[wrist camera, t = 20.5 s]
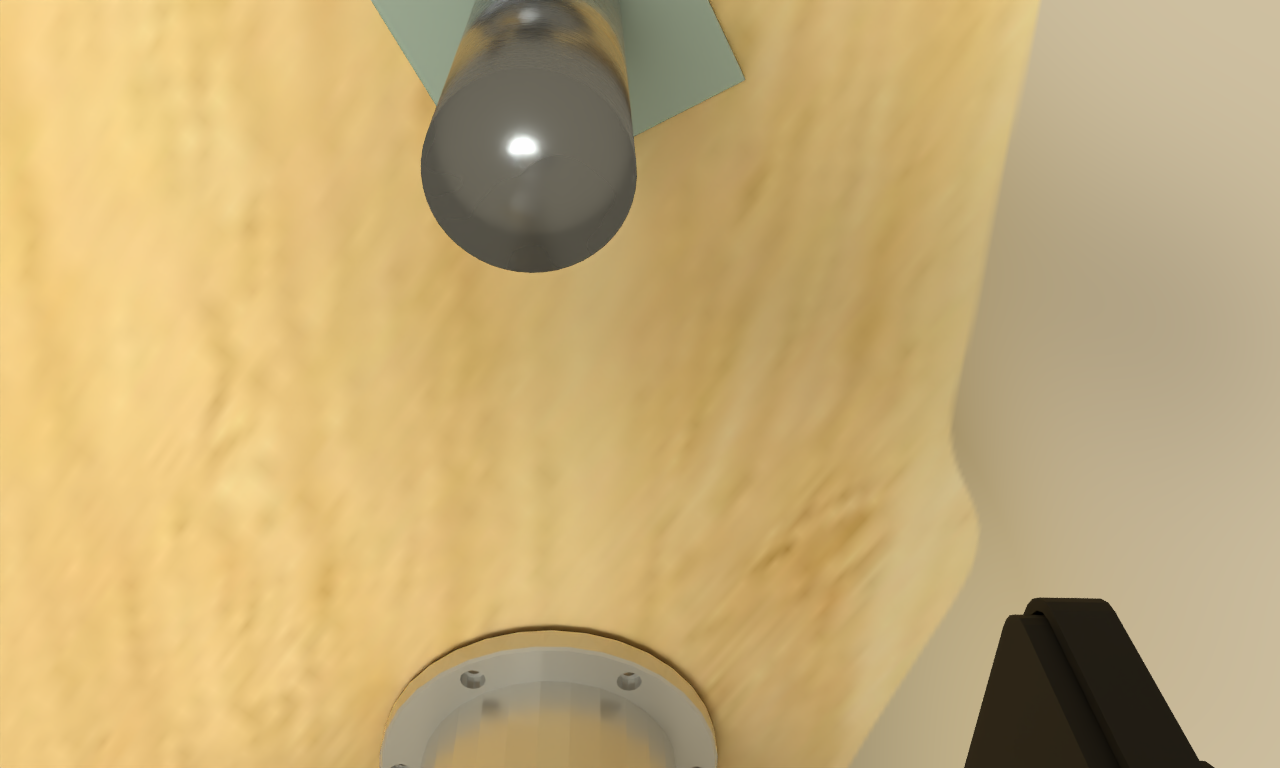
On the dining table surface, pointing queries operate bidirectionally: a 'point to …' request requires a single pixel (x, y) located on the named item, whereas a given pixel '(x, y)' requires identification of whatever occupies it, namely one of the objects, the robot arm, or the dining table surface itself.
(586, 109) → the chrome capsule
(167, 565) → the dining table surface
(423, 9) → the mat
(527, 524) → the dining table surface
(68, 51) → the dining table surface
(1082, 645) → the robot arm
